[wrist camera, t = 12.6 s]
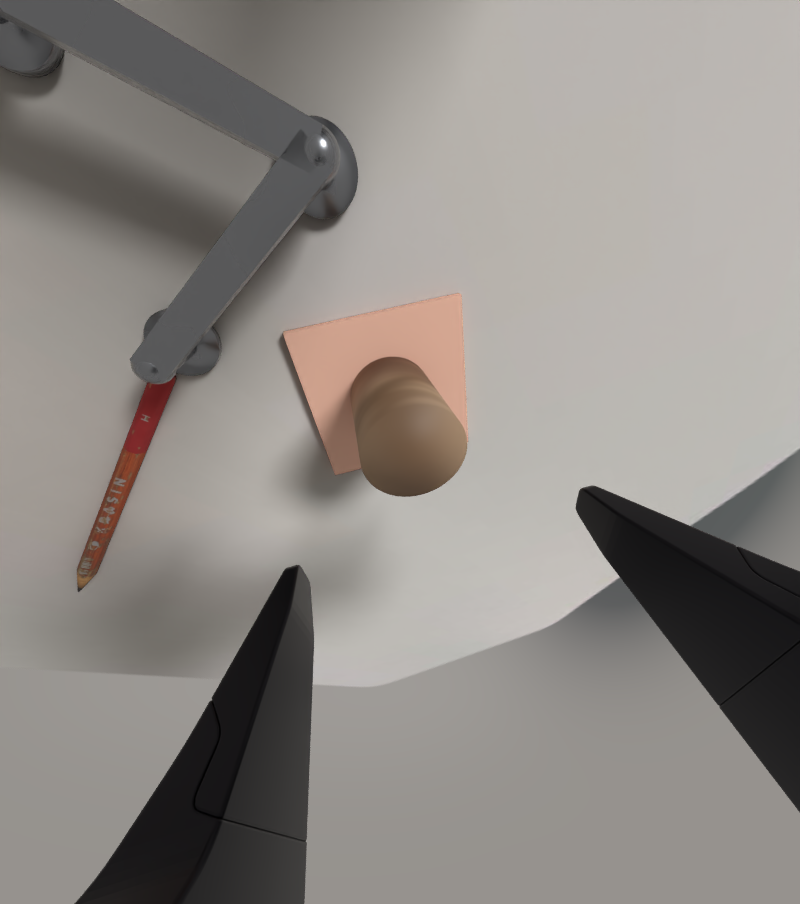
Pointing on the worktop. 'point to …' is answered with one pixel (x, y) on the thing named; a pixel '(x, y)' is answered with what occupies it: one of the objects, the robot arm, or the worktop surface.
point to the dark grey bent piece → (221, 107)
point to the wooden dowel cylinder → (404, 429)
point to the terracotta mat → (365, 340)
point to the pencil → (123, 477)
